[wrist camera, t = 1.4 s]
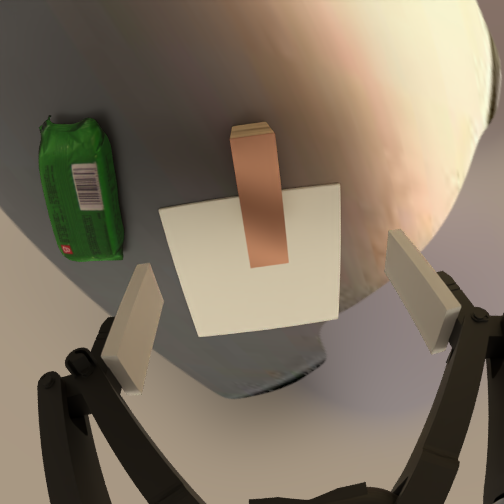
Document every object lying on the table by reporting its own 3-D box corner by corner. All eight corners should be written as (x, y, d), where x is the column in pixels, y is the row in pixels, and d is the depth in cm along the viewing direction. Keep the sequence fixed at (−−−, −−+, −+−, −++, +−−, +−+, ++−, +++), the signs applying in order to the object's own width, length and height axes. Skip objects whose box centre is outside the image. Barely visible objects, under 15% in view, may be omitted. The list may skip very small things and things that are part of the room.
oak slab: (232, 126, 28) (229, 139, 21) (265, 121, 27) (274, 133, 20) (248, 226, 32) (250, 268, 25) (278, 222, 32) (288, 262, 25)
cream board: (159, 208, 31) (158, 210, 31) (338, 183, 31) (340, 184, 31) (199, 334, 41) (198, 337, 41) (337, 316, 40) (338, 318, 40)
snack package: (116, 105, 26) (93, 113, 21) (133, 250, 34) (120, 278, 30) (54, 115, 26) (25, 126, 21) (78, 250, 34) (60, 276, 29)
